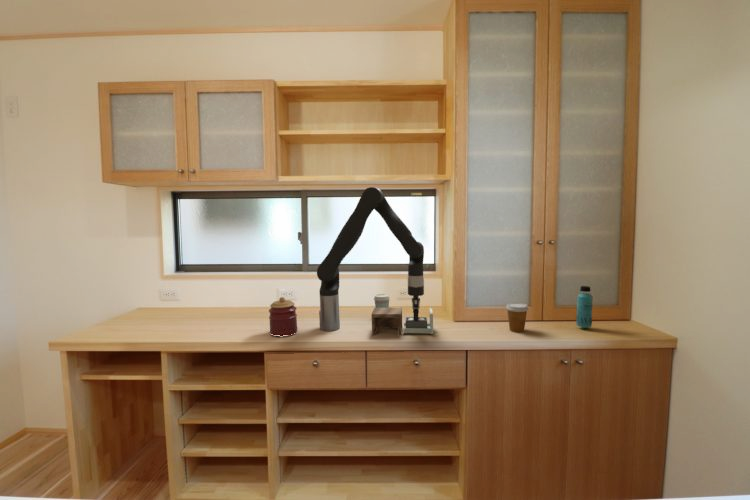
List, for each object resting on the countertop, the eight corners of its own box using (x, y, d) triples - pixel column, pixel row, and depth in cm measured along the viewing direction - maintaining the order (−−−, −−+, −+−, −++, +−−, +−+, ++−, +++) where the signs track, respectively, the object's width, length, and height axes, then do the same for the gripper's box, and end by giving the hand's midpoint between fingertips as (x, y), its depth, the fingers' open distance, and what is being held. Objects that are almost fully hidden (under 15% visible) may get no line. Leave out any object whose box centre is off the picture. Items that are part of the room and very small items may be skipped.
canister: (294, 337, 174) (292, 299, 173) (266, 338, 174) (264, 300, 172) (299, 328, 187) (298, 293, 186) (273, 329, 187) (271, 294, 185)
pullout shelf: (403, 333, 173) (403, 313, 172) (404, 326, 183) (403, 308, 182) (433, 333, 172) (432, 313, 171) (432, 327, 182) (431, 308, 181)
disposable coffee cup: (525, 327, 179) (526, 302, 178) (529, 333, 170) (529, 307, 169) (504, 326, 181) (504, 302, 180) (507, 333, 172) (507, 307, 171)
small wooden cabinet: (372, 335, 174) (371, 314, 173) (375, 327, 186) (374, 307, 185) (401, 335, 172) (400, 314, 171) (402, 327, 184) (401, 307, 183)
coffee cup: (391, 315, 206) (391, 294, 205) (388, 319, 198) (387, 297, 197) (376, 314, 209) (376, 293, 207) (372, 319, 200) (371, 297, 199)
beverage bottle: (572, 327, 177) (573, 285, 175) (583, 325, 179) (584, 284, 177) (584, 331, 171) (586, 288, 169) (595, 329, 173) (596, 286, 171)
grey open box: (405, 329, 175) (405, 320, 175) (406, 326, 181) (405, 317, 180) (427, 330, 174) (427, 320, 174) (427, 326, 180) (426, 317, 179)
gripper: (408, 281, 183) (408, 314, 184) (407, 287, 169) (407, 322, 170) (423, 281, 182) (423, 314, 184) (424, 287, 168) (424, 323, 170)
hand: (416, 318), depth 177 cm, fingers open, 8 cm apart
